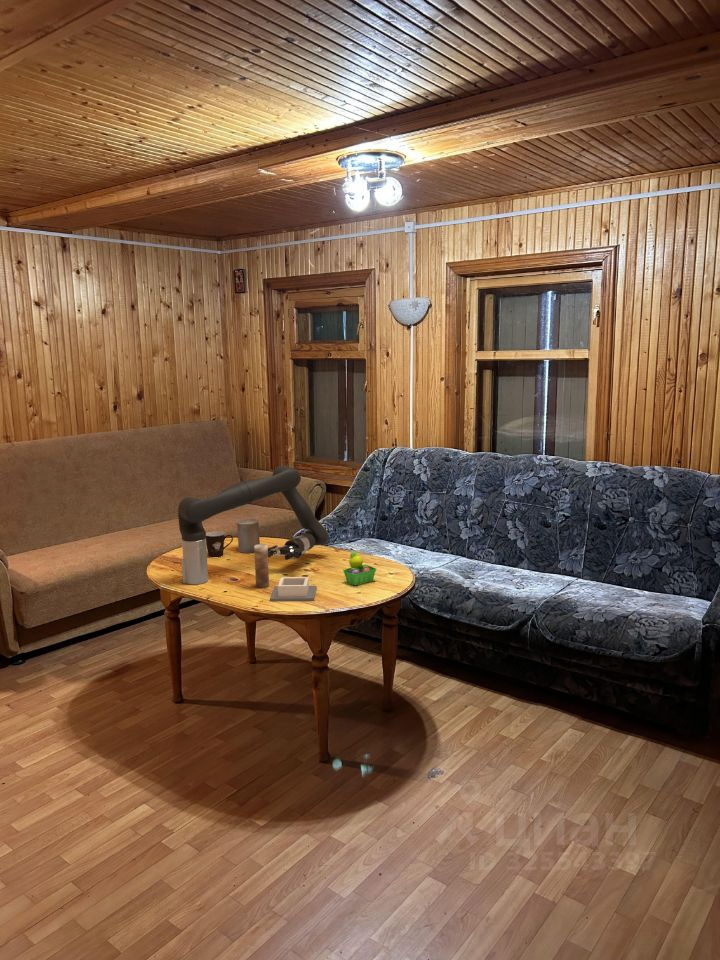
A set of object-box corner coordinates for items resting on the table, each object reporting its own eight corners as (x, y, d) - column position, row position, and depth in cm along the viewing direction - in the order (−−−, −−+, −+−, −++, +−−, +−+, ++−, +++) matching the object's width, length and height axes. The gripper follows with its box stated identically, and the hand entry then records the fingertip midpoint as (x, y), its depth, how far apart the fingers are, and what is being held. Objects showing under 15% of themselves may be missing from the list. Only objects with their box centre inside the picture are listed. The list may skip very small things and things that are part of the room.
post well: (269, 601, 263) (269, 587, 262) (274, 588, 277) (274, 576, 276) (314, 600, 263) (313, 587, 262) (316, 588, 277) (316, 575, 276)
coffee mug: (203, 558, 318) (202, 536, 317) (208, 553, 327) (207, 531, 325) (230, 558, 318) (229, 536, 316) (234, 552, 327) (233, 531, 325)
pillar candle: (262, 547, 335) (260, 515, 332) (257, 553, 325) (255, 520, 322) (241, 547, 336) (239, 515, 333) (235, 553, 326) (234, 520, 323)
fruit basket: (353, 587, 278) (353, 558, 276) (340, 581, 285) (340, 553, 283) (377, 581, 284) (377, 553, 282) (364, 576, 292) (363, 548, 290)
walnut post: (255, 588, 278) (253, 547, 275) (256, 584, 282) (255, 544, 280) (268, 588, 278) (266, 547, 275) (269, 584, 282) (268, 544, 280)
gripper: (282, 535, 305) (260, 545, 290) (312, 539, 299) (291, 549, 284) (282, 553, 306) (261, 563, 292) (312, 556, 300) (292, 567, 286)
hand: (276, 556), depth 288 cm, fingers open, 8 cm apart
